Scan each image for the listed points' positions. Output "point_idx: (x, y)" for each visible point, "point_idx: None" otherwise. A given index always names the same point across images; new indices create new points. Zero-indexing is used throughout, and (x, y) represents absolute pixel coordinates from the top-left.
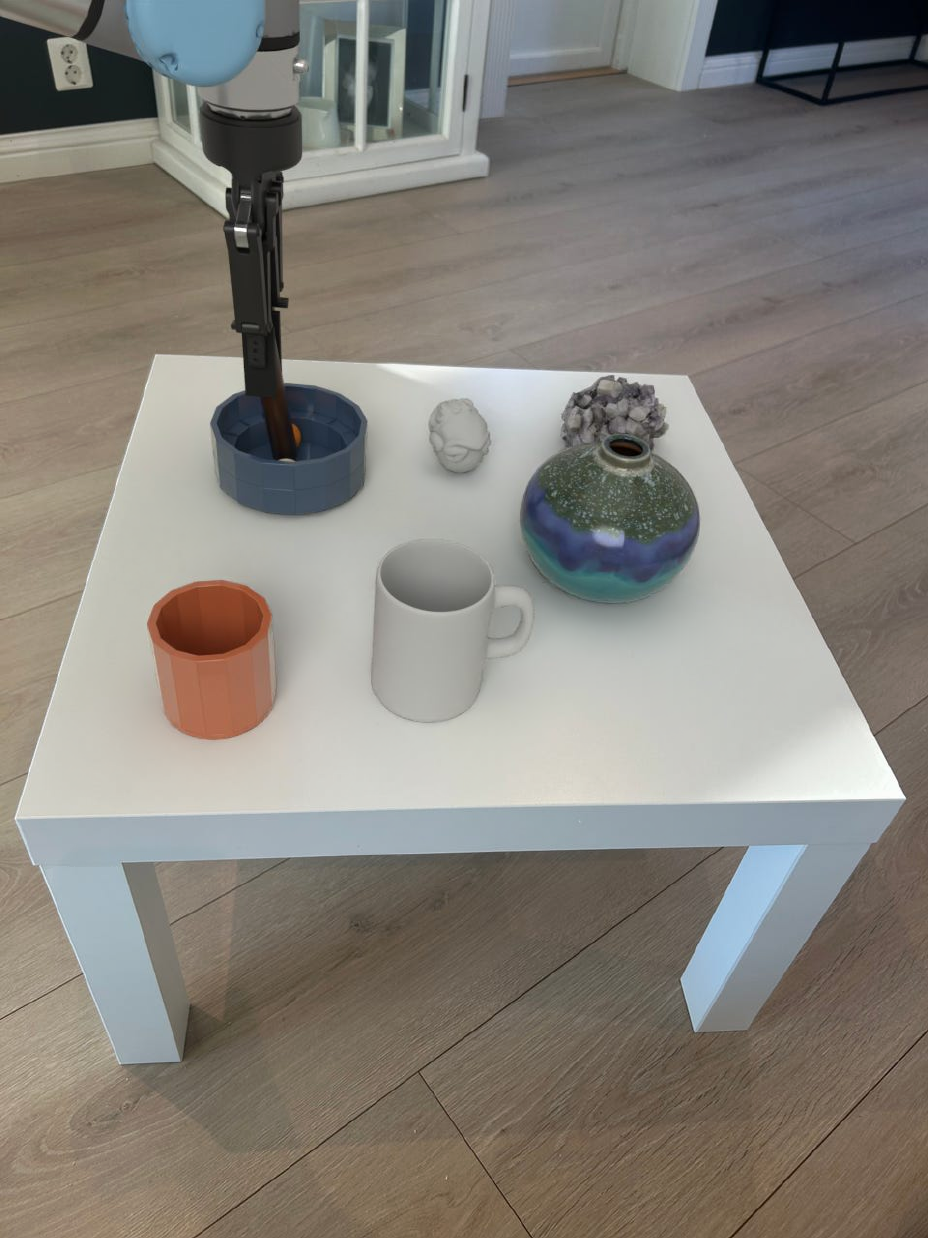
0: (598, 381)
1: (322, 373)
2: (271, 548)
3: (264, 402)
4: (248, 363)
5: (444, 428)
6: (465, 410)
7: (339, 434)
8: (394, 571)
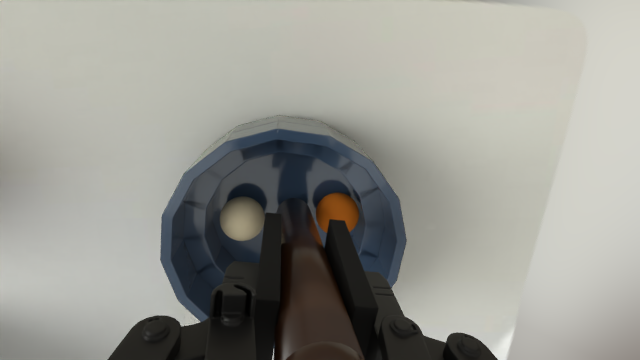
0: None
1: (531, 242)
2: (125, 192)
3: (281, 232)
4: (228, 266)
5: None
6: None
7: None
8: None
